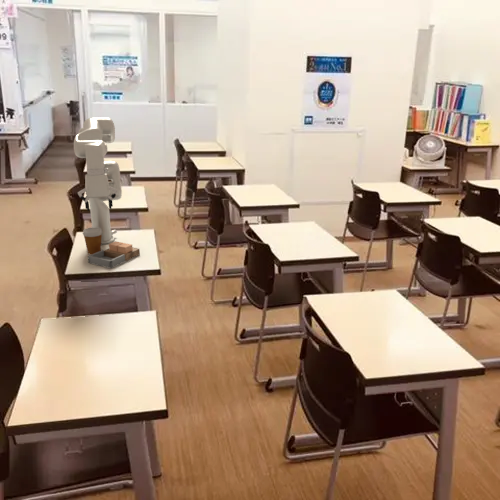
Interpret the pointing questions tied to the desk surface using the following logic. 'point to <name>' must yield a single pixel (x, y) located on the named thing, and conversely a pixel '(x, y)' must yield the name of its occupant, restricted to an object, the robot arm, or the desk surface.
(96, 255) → the tray
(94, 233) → the disposable coffee cup
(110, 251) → the brown wooden slab
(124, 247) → the tile
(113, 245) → the tile
